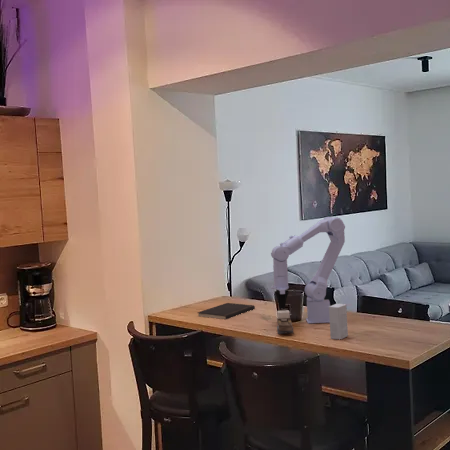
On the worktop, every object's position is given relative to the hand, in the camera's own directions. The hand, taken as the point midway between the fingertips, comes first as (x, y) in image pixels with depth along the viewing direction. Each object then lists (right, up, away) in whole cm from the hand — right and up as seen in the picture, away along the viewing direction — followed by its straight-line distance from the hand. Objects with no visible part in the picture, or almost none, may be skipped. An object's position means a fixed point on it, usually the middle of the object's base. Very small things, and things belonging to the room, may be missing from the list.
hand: (282, 308), depth 238 cm
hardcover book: (-23, -7, +29) cm, 38 cm away
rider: (0, -4, -6) cm, 7 cm away
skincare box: (+19, -7, -24) cm, 31 cm away
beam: (0, -7, -11) cm, 13 cm away
